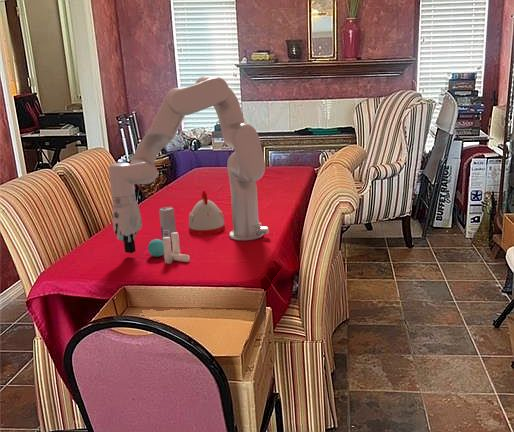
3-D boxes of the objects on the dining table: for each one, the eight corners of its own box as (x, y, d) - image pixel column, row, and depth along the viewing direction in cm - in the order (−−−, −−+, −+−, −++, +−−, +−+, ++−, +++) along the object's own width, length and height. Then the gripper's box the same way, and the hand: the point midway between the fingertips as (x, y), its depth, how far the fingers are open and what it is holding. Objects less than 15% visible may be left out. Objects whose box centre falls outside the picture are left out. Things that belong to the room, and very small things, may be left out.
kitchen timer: (192, 236, 210) (188, 197, 206) (186, 226, 223) (183, 189, 218) (228, 231, 213) (225, 193, 209) (220, 222, 226) (218, 186, 222)
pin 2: (181, 256, 189) (179, 232, 186) (178, 258, 186) (175, 234, 184) (175, 255, 190) (173, 231, 187) (172, 258, 187) (169, 234, 185)
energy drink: (169, 236, 210) (166, 205, 207) (179, 238, 207) (176, 207, 204) (159, 240, 206) (155, 209, 203) (168, 242, 203) (165, 211, 200)
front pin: (168, 257, 188) (190, 260, 184) (164, 260, 186) (186, 263, 182) (167, 251, 187) (189, 253, 184) (163, 254, 185) (185, 256, 182)
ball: (160, 235, 192) (150, 248, 193) (151, 235, 187) (141, 248, 188) (172, 247, 191) (161, 260, 192) (163, 247, 185) (152, 260, 186)
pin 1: (173, 261, 184) (171, 237, 182) (170, 264, 182) (167, 239, 180) (167, 260, 185) (165, 236, 183) (163, 263, 183) (161, 238, 181)
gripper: (119, 206, 177) (125, 260, 183) (146, 195, 190) (152, 246, 196) (100, 205, 181) (107, 258, 186) (128, 194, 194) (134, 244, 199)
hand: (130, 251), depth 191 cm, fingers closed
